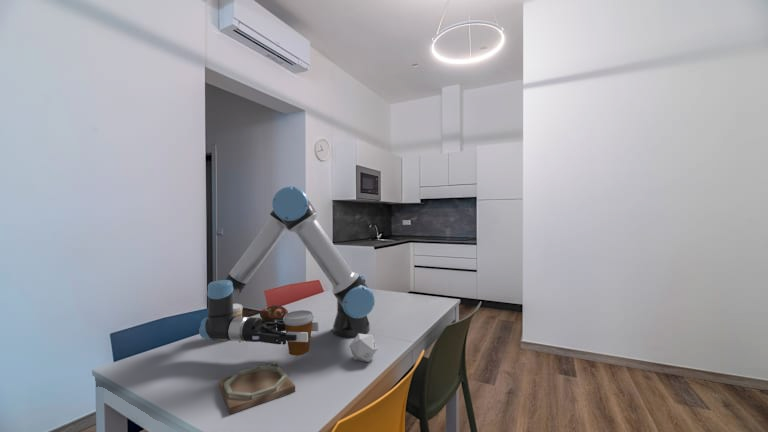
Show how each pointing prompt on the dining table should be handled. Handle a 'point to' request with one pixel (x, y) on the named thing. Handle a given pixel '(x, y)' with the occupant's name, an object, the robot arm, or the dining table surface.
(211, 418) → the dining table surface
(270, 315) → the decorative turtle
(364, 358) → the die
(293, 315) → the disposable coffee cup
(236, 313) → the coffee cup
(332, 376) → the dining table surface
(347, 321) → the robot arm
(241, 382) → the cup holder board
